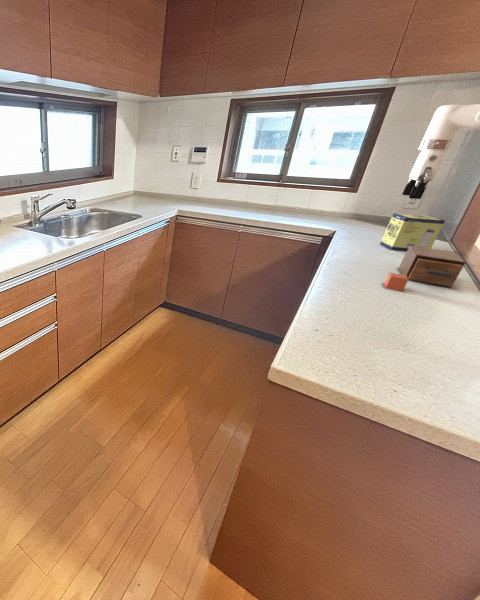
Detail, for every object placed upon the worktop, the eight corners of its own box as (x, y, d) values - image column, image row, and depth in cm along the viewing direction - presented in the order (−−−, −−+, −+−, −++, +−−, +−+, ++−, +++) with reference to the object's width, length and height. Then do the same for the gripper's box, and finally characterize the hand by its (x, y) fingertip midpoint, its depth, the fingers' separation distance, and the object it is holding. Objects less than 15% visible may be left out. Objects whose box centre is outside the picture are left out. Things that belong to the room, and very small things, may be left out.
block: (400, 287, 115) (406, 275, 113) (402, 291, 112) (408, 279, 110) (384, 284, 117) (389, 272, 115) (385, 288, 114) (391, 276, 112)
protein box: (378, 243, 165) (392, 213, 158) (415, 247, 162) (431, 215, 155) (390, 249, 156) (405, 217, 149) (429, 253, 153) (446, 220, 146)
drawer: (455, 291, 110) (468, 270, 107) (410, 283, 116) (421, 262, 113) (442, 275, 124) (453, 256, 120) (402, 268, 130) (412, 250, 126)
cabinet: (450, 287, 116) (465, 262, 111) (404, 279, 122) (416, 254, 118) (440, 275, 126) (454, 251, 122) (398, 268, 133) (409, 245, 129)
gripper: (459, 146, 104) (431, 201, 112) (440, 146, 117) (417, 195, 125) (427, 145, 108) (403, 198, 115) (413, 145, 121) (392, 193, 129)
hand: (410, 196), depth 120 cm, fingers open, 9 cm apart
